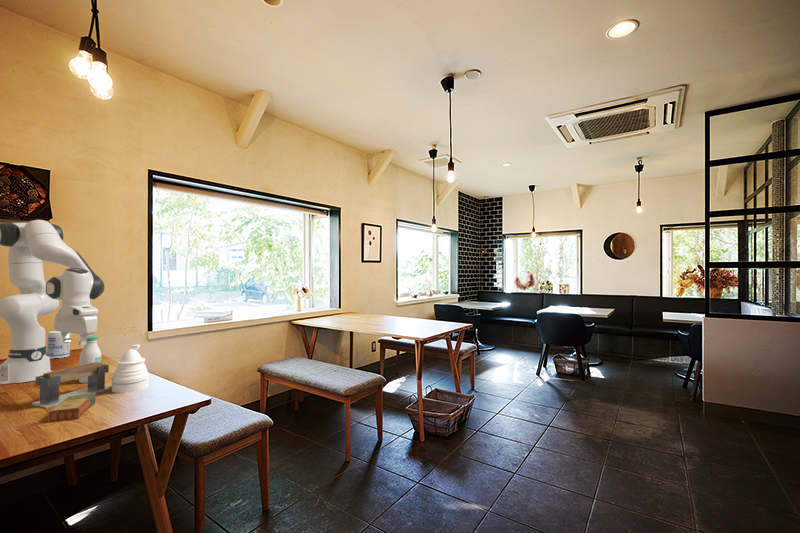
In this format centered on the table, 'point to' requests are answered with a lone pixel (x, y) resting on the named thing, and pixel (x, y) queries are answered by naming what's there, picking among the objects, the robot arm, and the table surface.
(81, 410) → the carton
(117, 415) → the table surface
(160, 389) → the table surface
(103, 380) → the bracket stand
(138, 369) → the honey pot
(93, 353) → the milk bottle
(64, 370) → the rail
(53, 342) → the supplement tub
